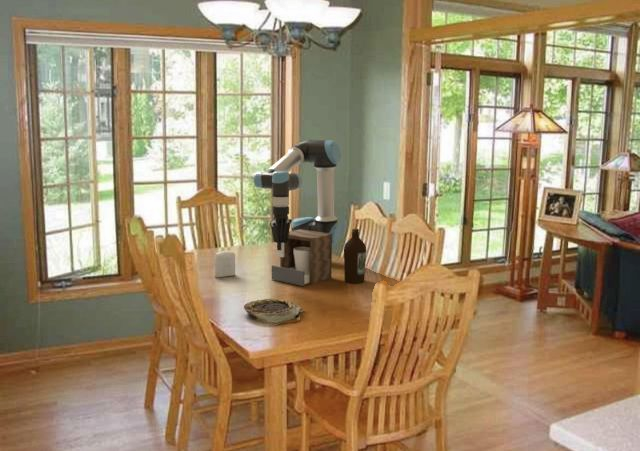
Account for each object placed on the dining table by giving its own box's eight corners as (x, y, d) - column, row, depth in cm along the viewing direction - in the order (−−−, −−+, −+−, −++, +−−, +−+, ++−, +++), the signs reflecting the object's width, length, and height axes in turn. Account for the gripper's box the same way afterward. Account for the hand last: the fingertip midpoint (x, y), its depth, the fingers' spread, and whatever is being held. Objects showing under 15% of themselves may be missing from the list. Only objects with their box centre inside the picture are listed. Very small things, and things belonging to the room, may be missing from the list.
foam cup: (306, 278, 309) (306, 251, 306) (289, 275, 313) (289, 249, 311) (316, 274, 317) (316, 248, 315) (300, 271, 321) (300, 245, 319)
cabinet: (300, 271, 329) (300, 229, 325) (331, 277, 317) (331, 233, 313) (280, 277, 317) (280, 233, 313) (312, 283, 305) (312, 238, 301)
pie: (247, 330, 241) (247, 317, 240) (226, 310, 266) (226, 299, 265) (316, 321, 252) (316, 309, 252) (290, 303, 277) (290, 291, 276)
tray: (298, 271, 327) (298, 258, 326) (328, 277, 316) (329, 264, 315) (271, 279, 311) (271, 265, 310) (302, 286, 300) (303, 271, 299)
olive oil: (338, 281, 310) (339, 229, 306) (351, 277, 318) (352, 226, 314) (357, 285, 304) (359, 232, 300) (369, 280, 312) (371, 228, 308)
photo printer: (232, 273, 323) (232, 249, 320) (236, 275, 319) (236, 250, 317) (213, 276, 317) (213, 251, 315) (217, 278, 313) (216, 253, 311)
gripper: (283, 203, 303) (283, 253, 307) (264, 206, 293) (265, 258, 297) (296, 204, 299) (296, 255, 303) (277, 208, 288) (277, 260, 293)
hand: (281, 256), depth 300 cm, fingers closed
